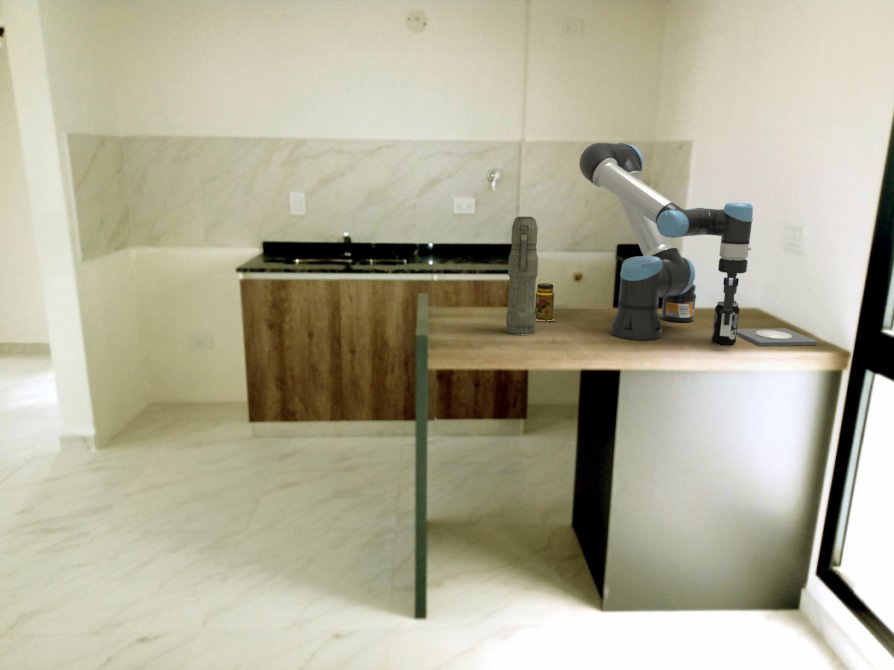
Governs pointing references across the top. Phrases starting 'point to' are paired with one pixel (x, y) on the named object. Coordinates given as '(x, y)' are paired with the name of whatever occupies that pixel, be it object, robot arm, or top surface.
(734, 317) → the beverage can
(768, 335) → the plate
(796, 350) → the top surface
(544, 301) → the condiment
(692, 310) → the supplement container
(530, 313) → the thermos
